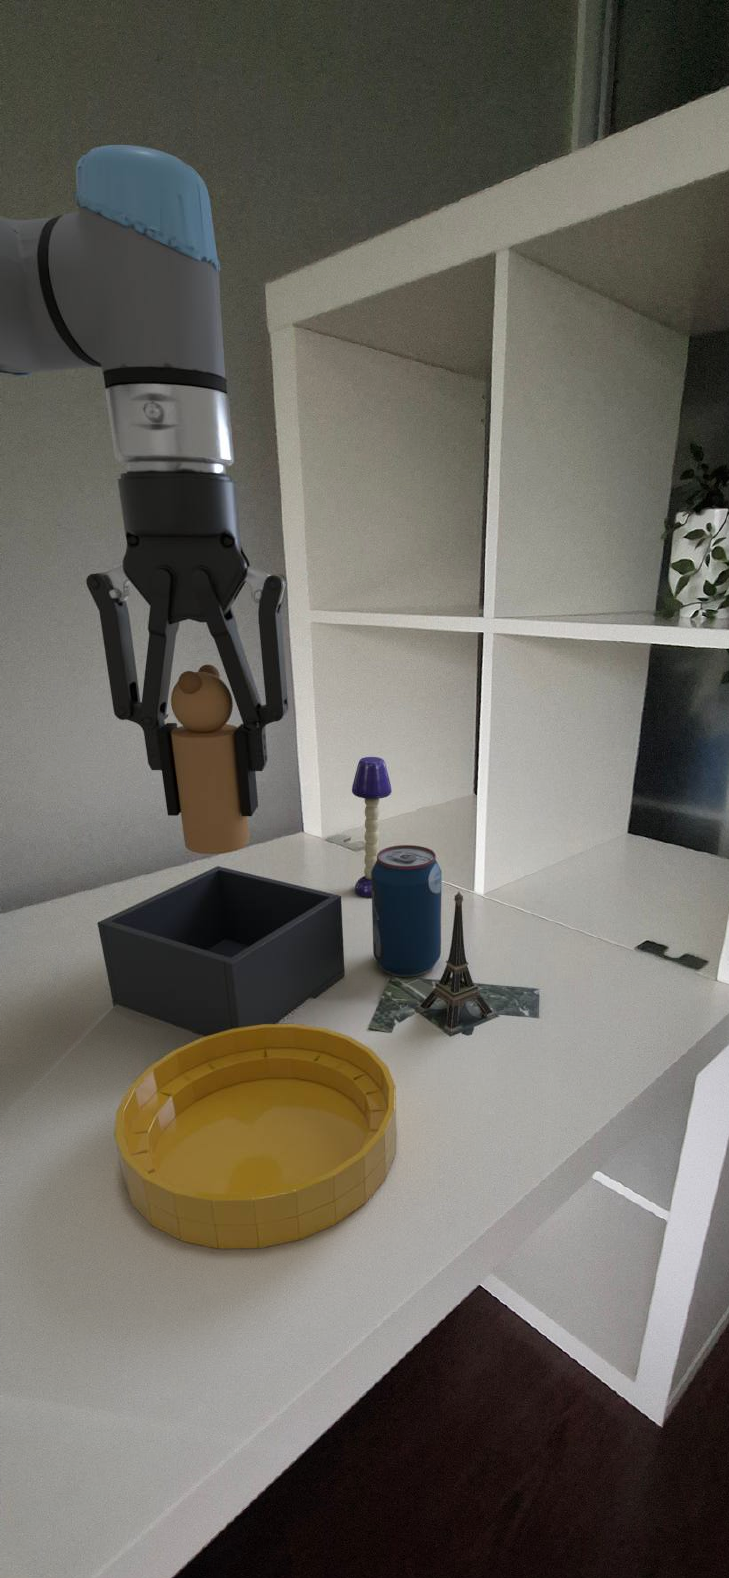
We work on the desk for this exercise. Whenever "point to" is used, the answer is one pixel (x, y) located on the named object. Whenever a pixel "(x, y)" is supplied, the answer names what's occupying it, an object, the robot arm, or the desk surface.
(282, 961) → the bin
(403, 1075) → the desk surface
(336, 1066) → the bowl
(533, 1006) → the eiffel tower figurine
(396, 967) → the soda can
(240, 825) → the toy bear
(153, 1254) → the desk surface
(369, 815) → the toy lamp
